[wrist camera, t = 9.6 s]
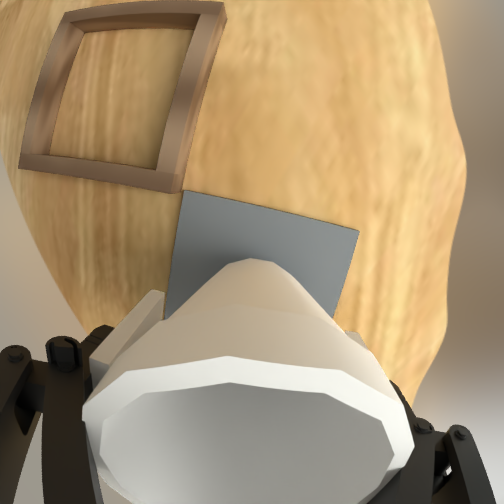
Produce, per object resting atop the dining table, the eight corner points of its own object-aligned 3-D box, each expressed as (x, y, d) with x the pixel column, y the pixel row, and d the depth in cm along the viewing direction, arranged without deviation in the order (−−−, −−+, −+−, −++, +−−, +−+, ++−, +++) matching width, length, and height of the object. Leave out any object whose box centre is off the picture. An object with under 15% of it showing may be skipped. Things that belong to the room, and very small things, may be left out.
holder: (79, 23, 16) (64, 12, 13) (227, 19, 16) (223, 2, 14) (37, 168, 19) (18, 168, 16) (181, 192, 19) (170, 193, 17)
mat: (185, 190, 19) (184, 190, 19) (357, 230, 20) (359, 231, 19) (162, 343, 22) (161, 346, 22) (309, 373, 22) (309, 376, 22)
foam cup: (206, 375, 20) (168, 535, 7) (160, 256, 18) (23, 376, 5) (336, 346, 19) (400, 505, 7) (309, 216, 17) (424, 299, 5)
